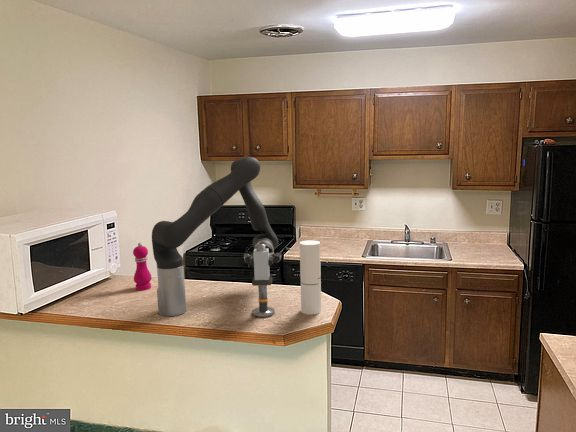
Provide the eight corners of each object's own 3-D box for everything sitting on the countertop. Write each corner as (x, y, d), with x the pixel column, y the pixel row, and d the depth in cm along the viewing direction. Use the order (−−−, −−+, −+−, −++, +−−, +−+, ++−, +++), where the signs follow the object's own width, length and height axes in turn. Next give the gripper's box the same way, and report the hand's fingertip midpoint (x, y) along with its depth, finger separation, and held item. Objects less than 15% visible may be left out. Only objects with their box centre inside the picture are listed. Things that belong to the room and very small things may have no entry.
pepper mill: (148, 284, 197) (144, 239, 194) (155, 288, 192) (151, 242, 189) (132, 288, 193) (128, 242, 190) (138, 292, 187) (134, 245, 184)
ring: (251, 286, 155) (251, 281, 154) (253, 280, 162) (252, 275, 161) (272, 285, 155) (271, 281, 154) (272, 279, 162) (272, 275, 161)
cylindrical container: (324, 309, 162) (323, 241, 158) (314, 316, 156) (313, 245, 152) (308, 306, 166) (306, 239, 162) (297, 312, 160) (295, 243, 156)
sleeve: (254, 280, 155) (253, 252, 154) (255, 276, 160) (254, 248, 159) (269, 279, 155) (268, 251, 154) (269, 275, 160) (268, 248, 159)
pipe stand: (251, 317, 156) (248, 247, 152) (253, 309, 164) (250, 242, 160) (274, 317, 156) (272, 246, 152) (275, 308, 164) (272, 241, 160)
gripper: (244, 242, 170) (239, 253, 154) (282, 241, 170) (281, 252, 154) (245, 261, 172) (240, 274, 155) (282, 260, 172) (282, 273, 155)
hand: (261, 263), depth 154 cm, fingers closed on sleeve, 5 cm apart
